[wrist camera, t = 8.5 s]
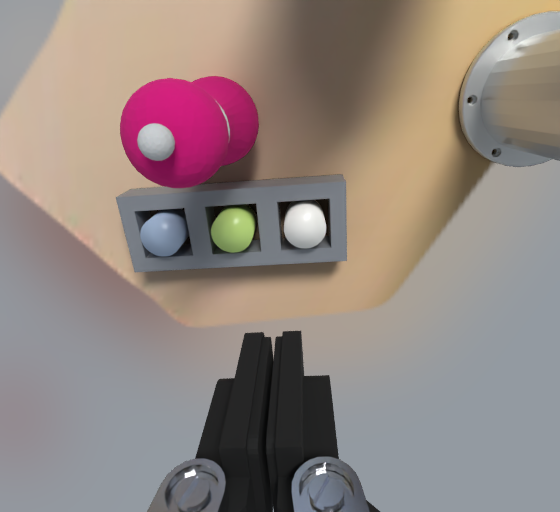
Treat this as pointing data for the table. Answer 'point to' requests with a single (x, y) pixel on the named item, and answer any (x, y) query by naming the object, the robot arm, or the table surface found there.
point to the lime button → (234, 228)
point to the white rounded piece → (304, 223)
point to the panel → (261, 192)
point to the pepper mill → (187, 129)
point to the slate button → (165, 232)
